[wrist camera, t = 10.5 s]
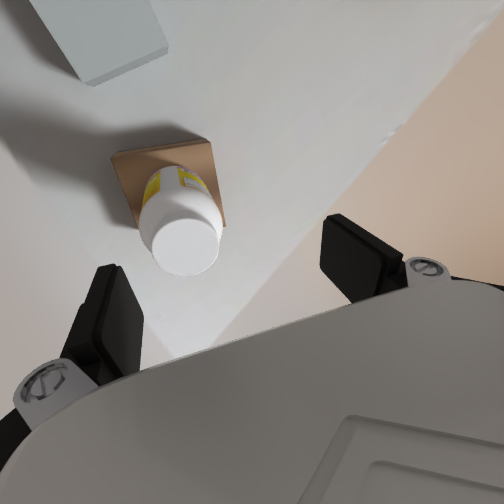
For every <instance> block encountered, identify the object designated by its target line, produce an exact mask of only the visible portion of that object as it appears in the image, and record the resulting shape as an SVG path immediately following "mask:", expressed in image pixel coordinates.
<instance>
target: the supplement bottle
mask: <svg viewBox="0 0 504 504" xmlns="http://www.w3.org/2000/svg"><path fill="white" fill-rule="evenodd" d="M222 231H223V223H222V217H221V214H220V211H219V209H218V207H217V205H216V204H215V202H214V200H213V198H212V196H211V195H210V193H209V191H208V189H207V187H206V185H205V184H204V182H203V181H202V179H201V178H200V177H199V176H198V175H197V174H196V173H194V172H193V171H191V170H189V169H187V168H185V167H180V166H168V167H164V168H162V169H160V170H158V171H157V172H155V173H154V174H153V175H152V176H151V177H150V179H149V180H148V182H147V185H146V188H145V193H144V198H143V203H142V209H141V214H140V218H139V232H140V236H141V238H142V241H143V243H144V244H145V246H146V247H147V249H148V250H149V251H150V252H151V253H152V256H153V259H154V260H155V262H156V263H157V265H158V266H159V267H160V268H162V269H163V270H164V271H166V272H168V273H170V274H173V275H177V276H191V275H195V274H198V273H201V272H203V271H204V270H206V269H207V268H209V267H210V266H211V265H212V264H213V262H214V261H215V259H216V258H217V255H218V252H219V241H220V239H221V236H222Z"/></svg>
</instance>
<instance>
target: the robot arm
mask: <svg viewBox="0 0 504 504" xmlns="http://www.w3.org/2000/svg"><path fill="white" fill-rule="evenodd" d="M402 258H403V254H402V253H401V252H399V251H397V250H396V249H394V248H393V247H391V246H390V245H388V244H386V243H385V242H383V241H382V240H380V239H379V238H377V237H375V236H374V235H372V234H371V233H369V232H368V231H366V230H365V229H363V228H362V227H360V226H358V225H357V224H355V223H354V222H352V221H350V220H349V219H348V218H346V217H344V216H343V215H341V214H334V215H329V216H327V218H326V219H325V220H324V221H323V231H322V243H321V255H320V268H321V270H322V271H323V272H324V274H325V275H326V276H327V277H328V278H329V279H330V280H331V281H332V282H333V283H334V284H335V285H336V287H337V288H338V289H339V290H340V291H341V292H342V293H343V294H344V295H345V296H346V297H347V298H348V299H349V300H350V302H351V303H352V304H348V305H345V306H342V307H338V308H335V309H332V310H329V311H325V312H323V313H319V314H316V315H312V316H309V317H306V318H303V319H300V320H296V321H294V322H290V323H287V324H284V325H280V326H277V327H274V328H271V329H268V330H265V331H261V332H258V333H255V334H252V335H249V336H246V337H242V338H239V339H236V340H233V341H230V342H227V343H224V344H221V345H217V346H214V347H211V348H208V349H205V350H201V351H198V352H195V353H192V354H189V355H186V356H183V357H180V358H177V359H174V360H171V361H167V362H164V363H161V364H158V365H155V366H152V367H150V368H147V369H144V370H141V371H140V358H141V347H142V335H143V323H144V316H143V312H142V310H141V307H140V305H139V303H138V301H137V299H136V297H135V294H134V292H133V290H132V288H131V286H130V284H129V282H128V279H127V277H126V275H125V273H124V271H123V269H122V267H121V266H116V265H115V264H109V265H105V266H100V267H98V269H97V271H96V273H95V276H94V279H93V281H92V284H91V287H90V289H89V292H88V294H87V297H86V300H85V302H84V303H83V304H81V306H80V307H79V310H78V312H77V315H76V317H75V320H74V323H73V325H72V327H71V330H70V332H69V335H68V338H67V340H66V342H65V345H64V347H63V350H62V353H61V355H60V358H59V359H55V360H51V361H49V362H47V363H44V364H42V365H41V366H39V367H38V368H36V369H35V370H33V371H32V372H31V373H30V374H28V375H27V376H26V377H25V378H24V379H23V381H22V382H21V383H20V384H19V386H18V387H17V389H16V391H15V393H14V397H13V402H14V405H15V407H16V408H15V409H13V410H12V411H11V412H10V413H9V414H7V415H6V416H5V417H4V418H3V419H1V420H0V504H504V286H500V285H495V284H490V283H484V282H479V281H474V280H469V279H463V278H458V277H453V276H450V274H449V271H448V269H447V268H446V267H445V266H444V265H443V264H441V263H440V262H438V261H435V260H433V259H429V258H425V257H412V258H410V259H408V260H407V261H406V262H404V261H402Z"/></svg>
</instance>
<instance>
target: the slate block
mask: <svg viewBox="0 0 504 504" xmlns="http://www.w3.org/2000/svg"><path fill="white" fill-rule="evenodd" d="M29 1H30V3H31V4H32V6H33V7H34V9H35V10H36V12H37V13H38V15H39V16H40V18H41V19H42V21H43V23H44V24H45V26H46V27H47V29H48V30H49V32H50V33H51V35H52V36H53V38H54V39H55V41H56V43H57V44H58V46H59V47H60V49H61V50H62V52H63V53H64V55H65V56H66V58H67V59H68V61H69V63H70V64H71V66H72V67H73V69H74V70H75V72H76V73H77V75H78V76H79V78H80V79H81V81H82V83H83V84H87V85H90V86H96V85H99V84H101V83H103V82H105V81H107V80H110V79H112V78H114V77H116V76H119V75H121V74H123V73H125V72H127V71H130V70H132V69H134V68H136V67H138V66H141V65H143V64H145V63H147V62H149V61H152V60H154V59H156V58H158V57H160V56H163V55H165V54H167V53H168V43H167V41H166V38H165V36H164V34H163V32H162V29H161V27H160V25H159V23H158V20H157V18H156V16H155V14H154V11H153V9H152V7H151V5H150V2H149V0H29Z"/></svg>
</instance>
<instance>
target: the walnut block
mask: <svg viewBox="0 0 504 504" xmlns="http://www.w3.org/2000/svg"><path fill="white" fill-rule="evenodd" d="M111 161H112V163H113V166H114V168H115V171H116V173H117V176H118V178H119V181H120V183H121V186H122V188H123V191H124V193H125V196H126V198H127V201H128V204H129V206H130V209H131V211H132V214H133V216H134V219H135V221H136V224H137V226H138V229H139V218H140V214H141V209H142V203H143V198H144V193H145V188H146V185H147V182H148V180H149V179H150V177H151V176H152V175H153V174H154V173H155V172H157V171H158V170H160V169H162V168H164V167H168V166H180V167H185V168H187V169H189V170H191V171H193V172H194V173H196V174H197V175H198V176H199V177H200V178H201V179H202V181H203V182H204V184H205V185H206V187H207V189H208V191H209V193H210V195H211V196H212V198H213V200H214V202H215V204H216V205H217V207H218V209H219V211H220V214H221V217H222V223H223V227H226V225H225V219H224V214H223V208H222V203H221V197H220V192H219V186H218V181H217V175H216V170H215V164H214V159H213V153H212V148H211V142H209V141H208V140H207V139H199V140H192V141H186V142H180V143H173V144H167V145H160V146H154V147H148V148H141V149H135V150H128V151H122V152H117V153H116V154H115V155H114V156H113V157H112V158H111Z"/></svg>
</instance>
